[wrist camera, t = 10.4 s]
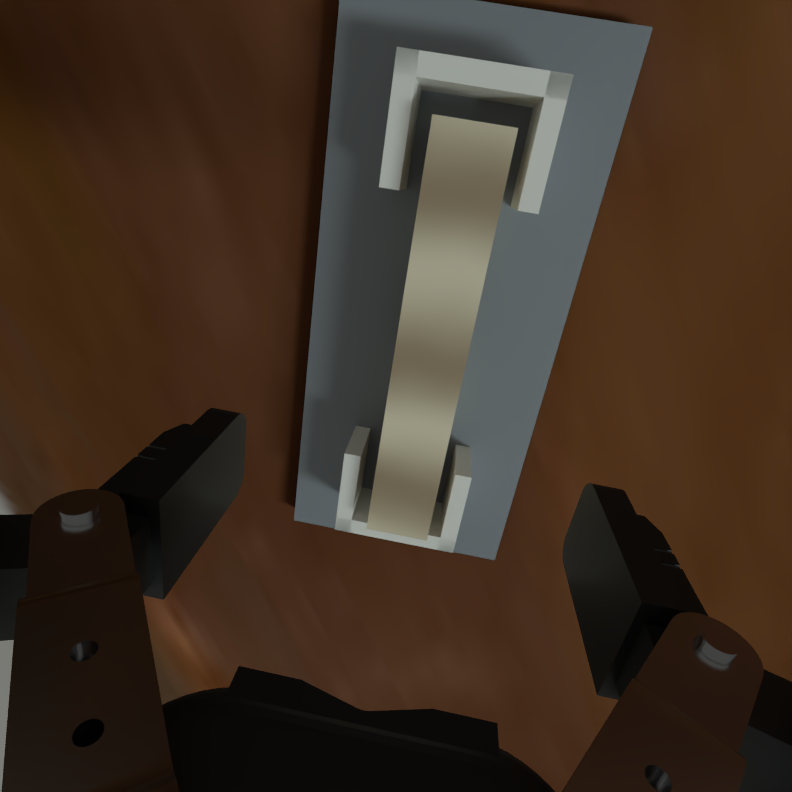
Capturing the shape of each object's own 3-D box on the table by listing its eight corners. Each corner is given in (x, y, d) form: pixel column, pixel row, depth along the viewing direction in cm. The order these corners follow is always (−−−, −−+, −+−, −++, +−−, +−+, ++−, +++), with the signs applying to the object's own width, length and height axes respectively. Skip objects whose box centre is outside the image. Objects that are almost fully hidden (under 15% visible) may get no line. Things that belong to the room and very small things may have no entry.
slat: (436, 124, 21) (432, 113, 18) (508, 136, 21) (518, 127, 18) (378, 483, 29) (366, 528, 25) (430, 493, 28) (426, 540, 25)
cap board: (346, -12, 21) (322, -52, 17) (644, 33, 20) (685, 2, 16) (298, 509, 31) (277, 554, 28) (493, 548, 31) (498, 599, 27)
